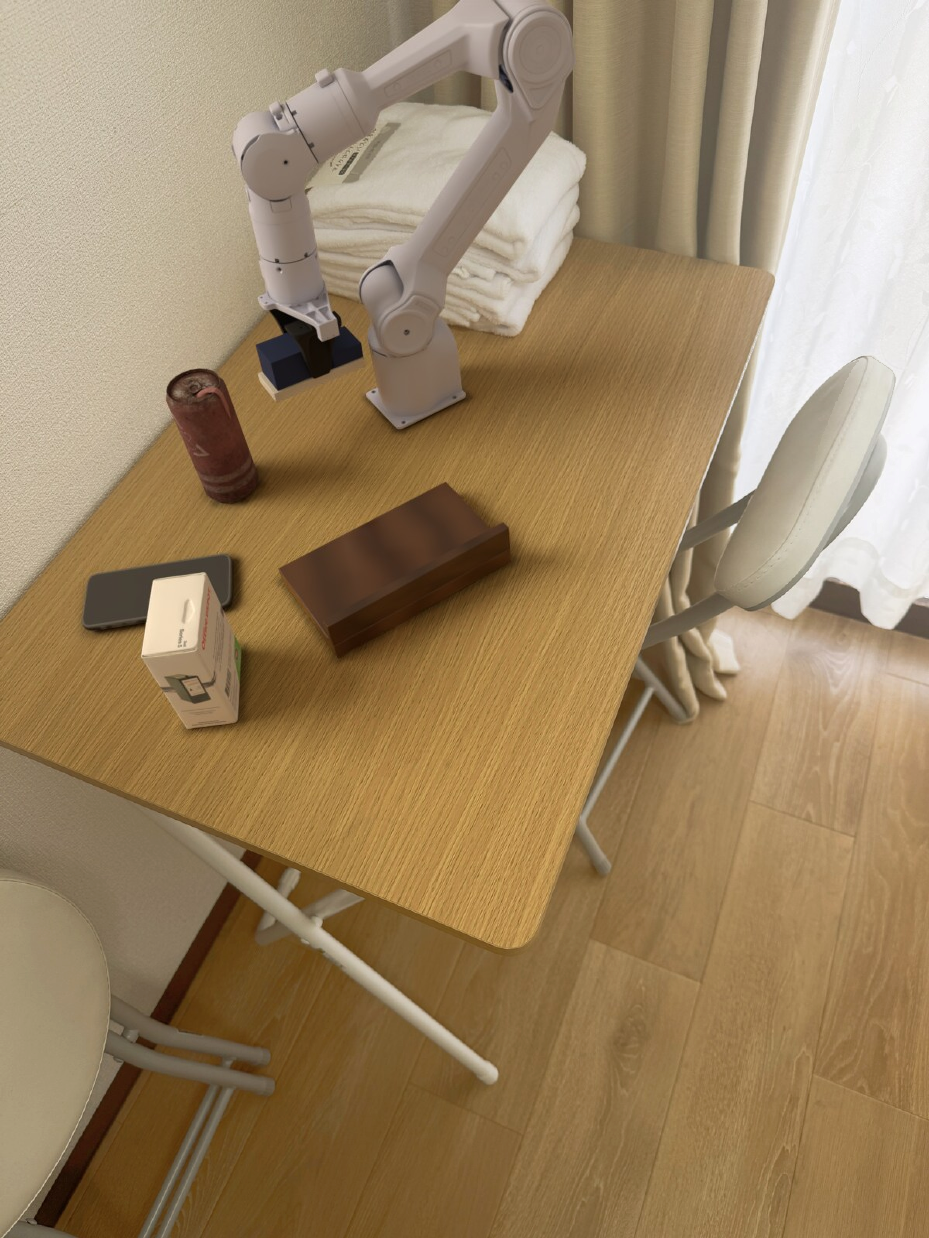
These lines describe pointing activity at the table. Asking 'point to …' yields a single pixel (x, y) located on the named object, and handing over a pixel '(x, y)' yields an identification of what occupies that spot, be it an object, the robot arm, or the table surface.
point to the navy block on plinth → (303, 364)
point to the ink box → (193, 650)
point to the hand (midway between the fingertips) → (311, 363)
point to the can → (212, 434)
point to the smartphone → (147, 589)
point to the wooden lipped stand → (394, 567)
